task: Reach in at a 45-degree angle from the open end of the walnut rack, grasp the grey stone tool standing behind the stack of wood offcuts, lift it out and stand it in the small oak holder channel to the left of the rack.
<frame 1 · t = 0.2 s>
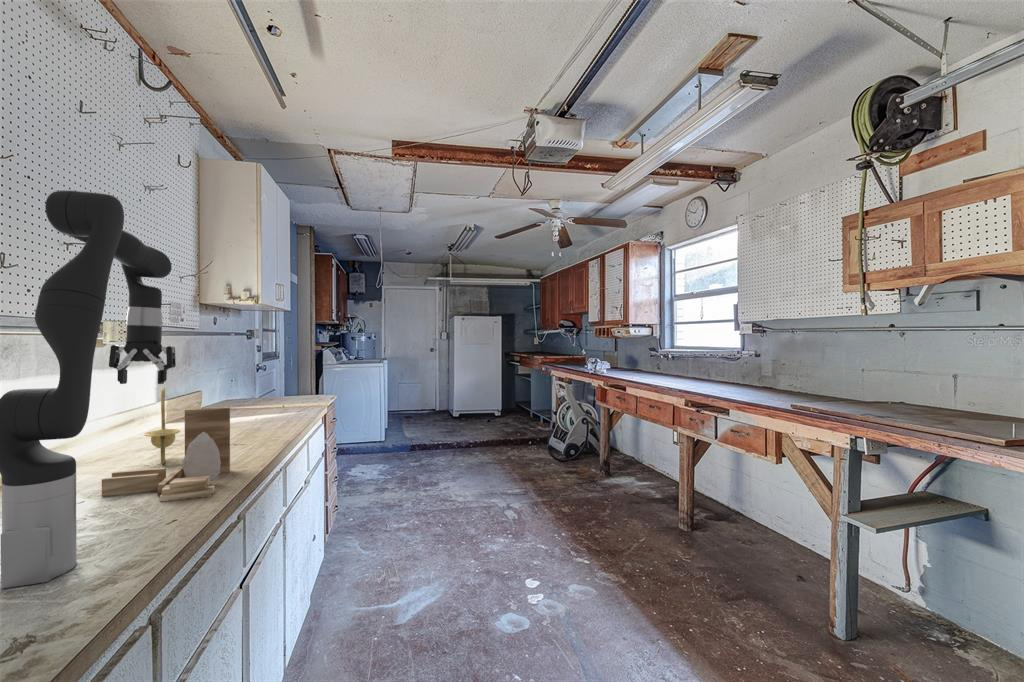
hand: (142, 383, 122), 29 cm above the counter, tool pointing down, fingers open, 8 cm apart
rack: (207, 473, 138), on the counter
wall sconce: (162, 463, 149), on the counter
holder: (135, 489, 124), on the counter
stone tool: (201, 485, 128), on the counter
offcut stack: (188, 496, 119), on the counter
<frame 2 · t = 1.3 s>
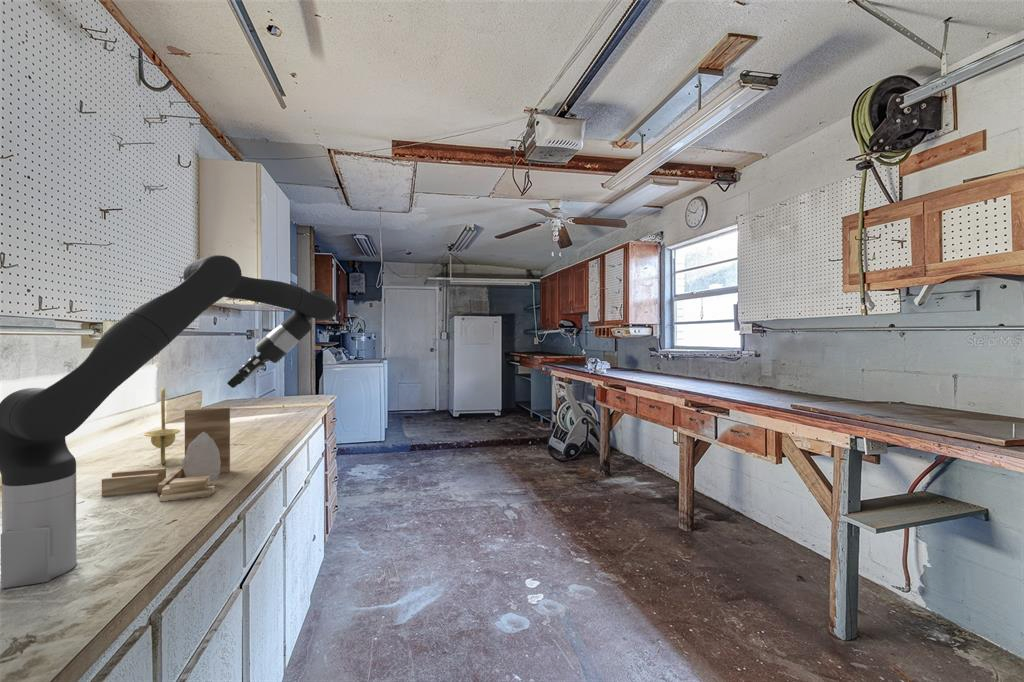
hand: (233, 384, 128), 29 cm above the counter, tool tilted 45°, fingers open, 8 cm apart
nothing on the counter moved.
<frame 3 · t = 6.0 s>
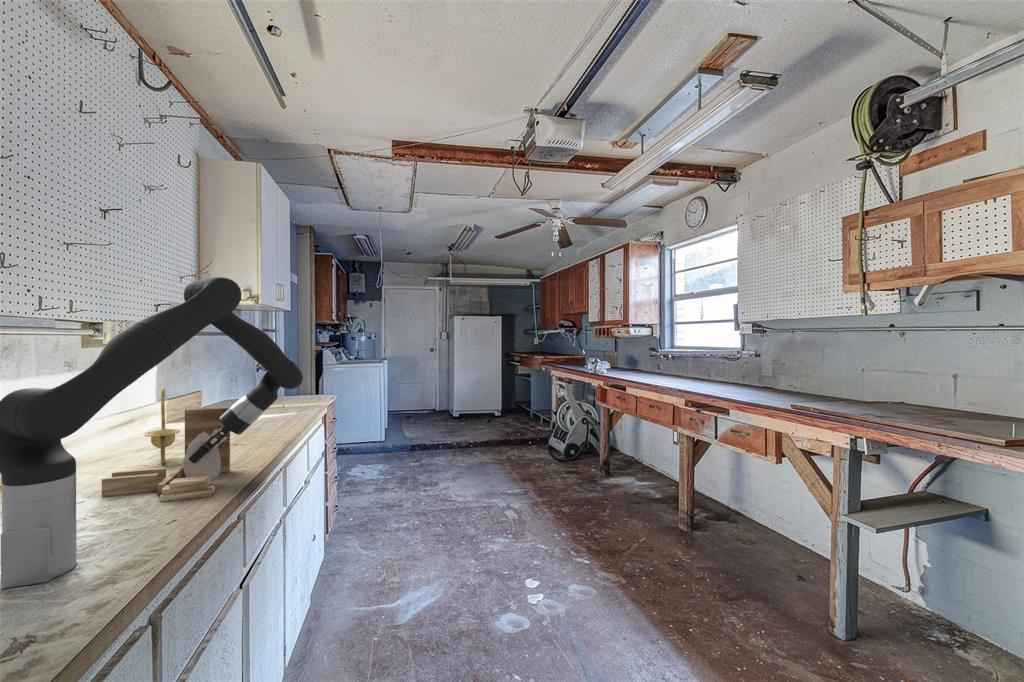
hand: (193, 459, 127), 7 cm above the counter, tool tilted 45°, fingers closed on stone tool, 2 cm apart
stone tool: (201, 485, 128), on the counter, touching gripper
everything else where it was.
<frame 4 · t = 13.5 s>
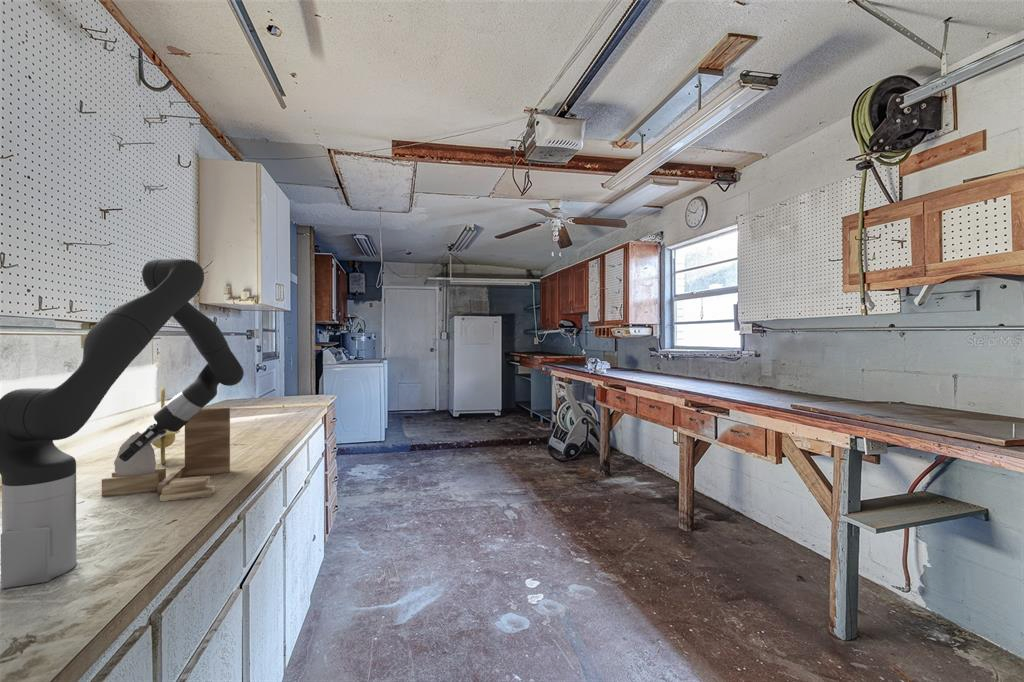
hand: (128, 455, 123), 10 cm above the counter, tool tilted 45°, fingers open, 8 cm apart
stone tool: (135, 487, 124), point 1 cm above the counter, touching holder
everything else where it was.
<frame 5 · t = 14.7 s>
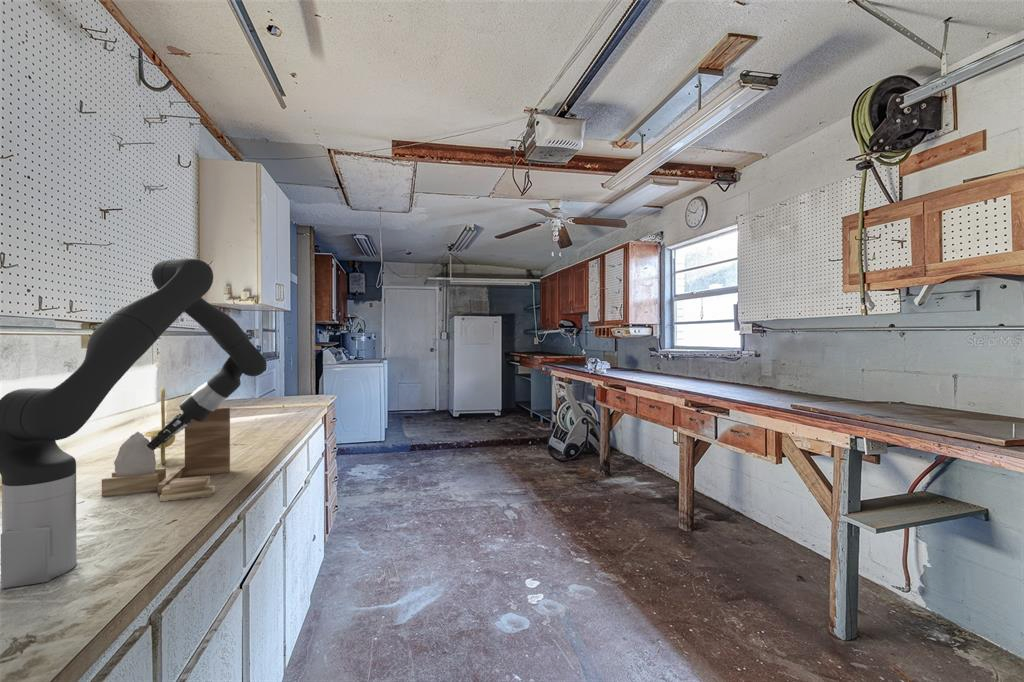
hand: (155, 444, 125), 12 cm above the counter, tool tilted 45°, fingers open, 8 cm apart
nothing on the counter moved.
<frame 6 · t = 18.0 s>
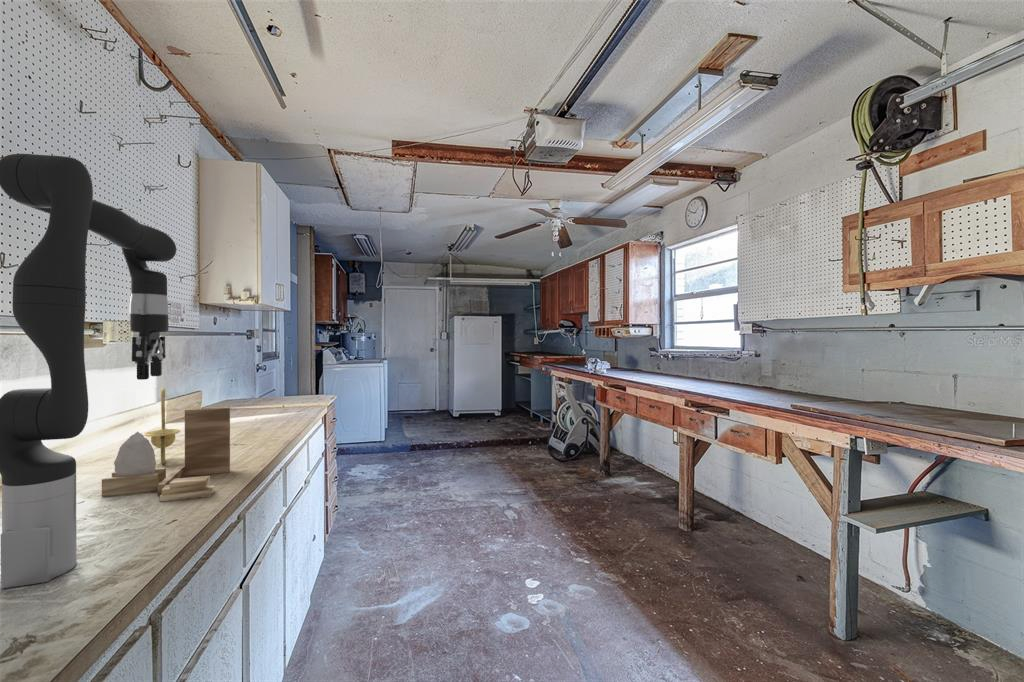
hand: (149, 377, 112), 32 cm above the counter, tool pointing down, fingers open, 8 cm apart
nothing on the counter moved.
at the end: stone tool inside the target area on the holder (0.1 cm from its centre), point 0.6 cm above the holder's base; stone tool tilted 0°; the gripper is holding nothing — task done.
